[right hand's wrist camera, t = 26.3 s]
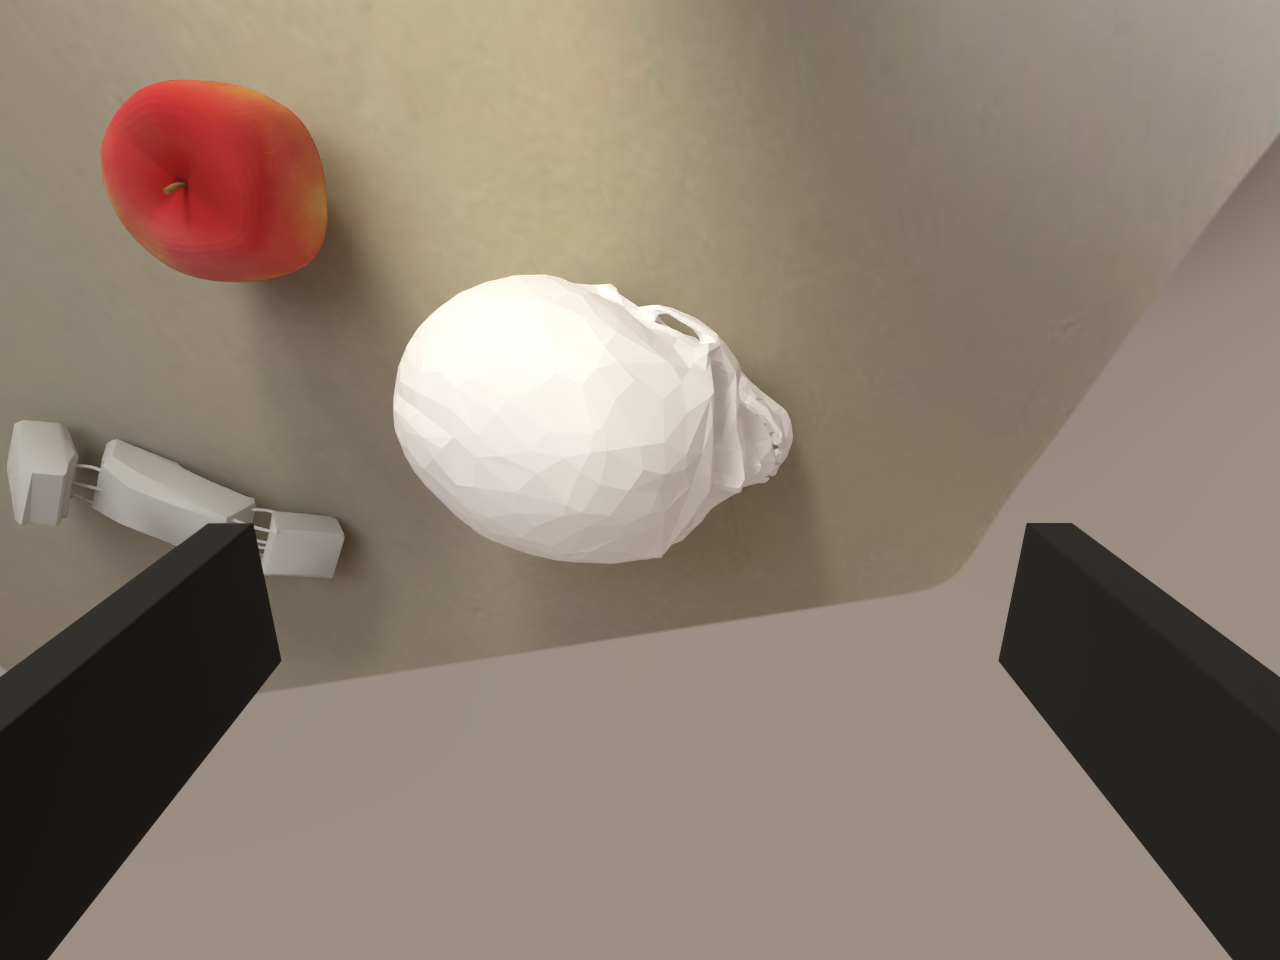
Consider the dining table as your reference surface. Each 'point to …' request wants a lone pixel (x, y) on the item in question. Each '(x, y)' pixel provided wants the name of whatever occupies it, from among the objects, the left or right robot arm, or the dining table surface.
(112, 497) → the grey jointed block chain
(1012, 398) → the dining table surface
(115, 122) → the apple
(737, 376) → the skull
